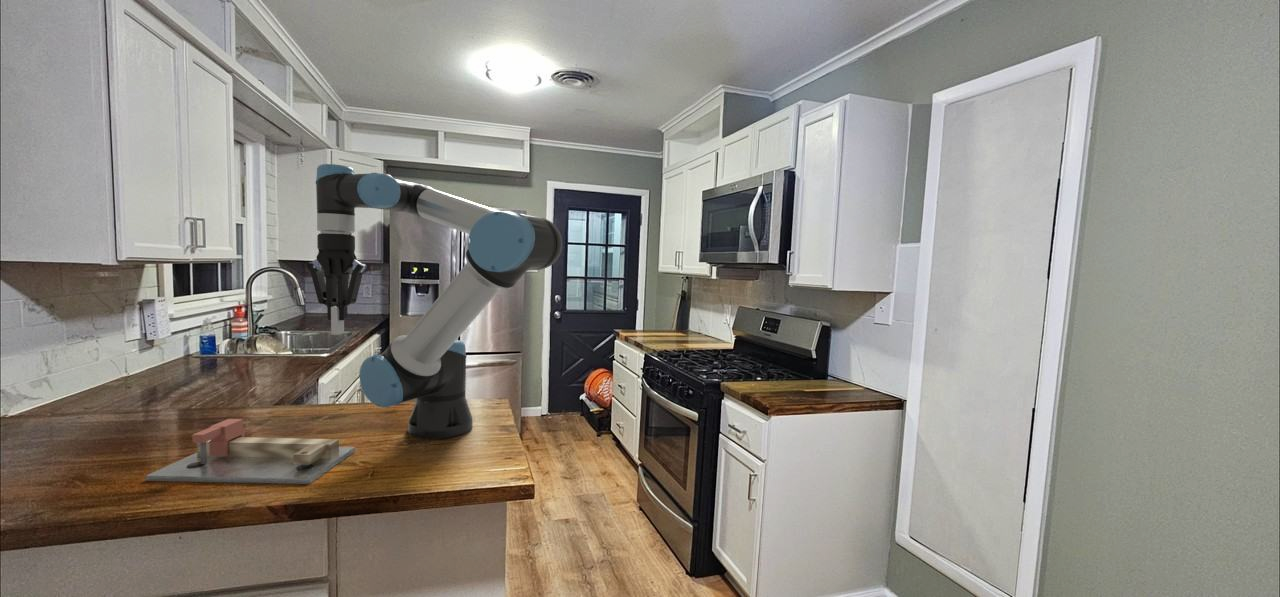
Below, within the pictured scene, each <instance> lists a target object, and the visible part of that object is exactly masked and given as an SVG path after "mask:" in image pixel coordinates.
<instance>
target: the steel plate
mask: <svg viewBox="0 0 1280 597" xmlns="http://www.w3.org/2000/svg"><path fill="white" fill-rule="evenodd" d="M355 452H356V447H355V446H339V453H338V454H337V455H336V456H334V457H333V458H331V459H324V458H319V459H317V460H316V461H314V462H313V463H311V464H310V465H308V467H307V468H301V465H297V464H294V458H277V457H230V456H207V463H206V464H201V456H197V452H194V453H193V454H190V455H188V456H186V457H184V458H182V459H179V460H178V461H174V462H173V463H171V464H169V465H166V466H164V467H162V468H160V469H157V470H156V471H153V472H151V473H148V474H147V475H145V480H146V481H147V482H148V481H149V482H155V481H156V482H186V483H188V482H193V483H195V482H196V483H236V484H238V483H239V484H240V483H241V484H243V483H244V484H247V483H248V484H289V485H290V484H292V485H293V484H294V485H298V484H299V485H301V484H302V485H310V484H312V483H313V482H315V481H316V480H317V479H319V478H320V477H322V476H323V475H325V473H327V472H329V471H330V470H331V469H333V468H334V467H336V466H337V465H338V464H340V463H341V462H342V461H344V460H345V459H347V458H348V457H349V456H350V455H352V454H354V453H355Z"/></svg>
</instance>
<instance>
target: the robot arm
mask: <svg viewBox="0 0 1280 597" xmlns="http://www.w3.org/2000/svg"><path fill="white" fill-rule="evenodd" d="M315 187H316V188H315V190H316V230H317V231H318V232H319V233H318V234H317V239H316V241H317V243H316V244H317V245H316V246H317V250H318V252H317V255H316V259H314V260H313V261H309V262H306V264H305V265H306V268H307V269H308V271H309V272H310V275H311V278H312V283H313V287H314V290H315V294H316V298H317V302H318V303H319V304H322V305H324V306H326V307H327V308H326V309H327V310H326V312H327V313H326V314H327V320H328V321H330V325H331V326H330V334H331V336H339V335H343V334H345V321H346V320H347V319H348V307H349V306H350V305H354V304H355V303H357V299H358V296H359V292H360V286H361V283H362V278H363V274H364V272H365V271H366V270H367V268H368V265H367V264H366V263H361V261H359V260H357V256H356V253H355V250H356V236H355V235H354V234H353V233H355V232H356V226H355V225H356V222H355V221H356V219H355V217H356V214H355V209H357V208H358V209H361V208H364V209H367V208H369V209H375V210H376V209H377V210H385V211H393V212H400V213H401V212H402V213H407V214H411V215H413V216H414V215H415V216H417V217H419V218H423V219H425V220H429V221H432V222H435V223H437V224H440V225H441V226H445V227H448V228H450V229H454V230H456V231H459V232H461V233H464V234H468V235H469V236H468V238H469V242H468V243H467V244H468V246H467V248H468V249H467V250H466V251H465V259H466V260H465V261H466V263H465V265H464V266H463V267H462V268H461V270H460V271H459V272H458V273H457V274H456V275H455V276H454V278H453V279H452V281H451V282H450V283H449V284H448V285H447V286H446V287H445V288H444V290H443V291H442V292H441V293H440V294H439V296H438V297H437V299H435V301H434V302H433V303H432V305H431V306H430V307H429V308H428V309H427V310H426V312H425V313H424V314H423V315H422V317H421V318H420V319H419V320H418V321H417V322H416V324H415V325H414V326H413V328H412V329H411V330H410V331H409V332H408V334H403V335H398V336H397V337H395V338H393V340H392V341H391V342H390V344H388V346H387V348H385V350H384V351H383V352H381V353H380V354H373V355H371V356H368V357H366V358H365V359H364V360H363V362H362V364H361V366H360V368H359V374H358V378H359V384H360V387H361V390H362V392H363V394H364V396H365V397H366V399H367V400H369V401H370V403H372V404H373V405H374V406H376V407H380V408H384V409H385V408H390V407H395V406H399V405H401V404H403V403H407V402H409V401H412V400H414V399H415V403H414V405H413V408H412V411H411V415H410V416H409V420H408V426H407V427H408V428H407V430H408V431H407V433H408V434H409V436H411V437H414V438H417V439H424V440H441V439H449V438H453V437H458V436H461V435H464V434H466V433H468V432H469V431H471V430H472V429H473V416H472V413H471V410H470V407H469V404H468V400H467V398H466V397H467V396H466V390H467V389H466V386H467V385H466V384H467V383H466V381H467V379H466V377H467V376H466V375H467V370H466V369H467V368H466V367H467V354H466V353H467V352H466V350H467V349H466V344H465V343H464V342H463V341H462V340H460V339H459V337H461V335H462V334H463V333H464V332H465V331H466V330H467V329H468V327H469V326H470V325H471V324H472V323H473V321H475V319H476V318H477V317H478V316H479V315H480V313H482V312H483V310H484V309H485V308H486V306H487V305H488V304H489V303H490V302H491V301H492V300H493V298H494V297H495V296H496V295H497V294H498V293H499V292H500V290H509V289H512V288H513V287H514V286H515V284H517V283H518V281H519V280H520V279H521V278H522V277H523V276H524V275H525V274H526V272H528V271H540V270H545V269H547V268H549V267H550V266H552V265H554V263H556V261H558V259H559V257H560V256H561V253H562V250H563V237H562V235H561V232H560V229H559V228H558V227H557V226H556V225H555V224H554V223H553V222H552V221H550V220H549V219H546V218H544V217H541V216H537V215H536V216H535V215H528V214H523V213H519V212H517V211H514V210H513V211H511V210H503V211H501V210H497V209H494V208H491V207H488V206H486V205H482V204H480V203H476V202H473V201H470V200H467V199H466V198H465V199H464V198H462V197H459V196H455V195H452V194H450V193H446V192H444V191H441V190H437V189H434V188H433V187H432V186H429V185H427V184H423V183H419V182H412V181H405V180H402V179H397V178H394V177H393V176H392V175H391V174H388V173H378V172H370V173H355V171H354V169H353V167H352V166H351V167H350V166H348V165H343V164H342V165H341V164H335V163H334V164H333V163H332V164H331V163H330V164H329V163H322V164H320V165H318V166H317V167H316V180H315ZM322 269H323V270H322ZM351 269H352V272H351V277H350V270H351ZM323 271H324V274H323ZM324 277H325V278H324ZM349 277H350V279H349ZM349 280H350V281H349ZM458 339H459V340H458Z"/></svg>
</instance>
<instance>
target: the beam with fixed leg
mask: <svg viewBox="0 0 1280 597" xmlns="http://www.w3.org/2000/svg"><path fill="white" fill-rule="evenodd" d="M209 441H211V440H209ZM209 441H207V442H206V451H207V456H210V446H209ZM339 447H340V439H338V438H335V439H333V438H295V437H294V438H293V437H292V438H290V437H288V438H287V437H257V436H256V437H254V436H253V437H252V436H251V437H250V436H246V437H236V438H233V439H231V440H229V441H228V455H226V456H230V457H277V458H294V464H297V465H301V468H307V467H308V465H310V464H311V463H313V462H314V461H316V460H317V459H319V458H324V459H331V458H333V457H334V456H336V455H337V454H338V453H339ZM196 451H197V452H196V453H197V456H201V454H200V443H196Z"/></svg>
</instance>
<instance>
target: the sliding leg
mask: <svg viewBox="0 0 1280 597" xmlns="http://www.w3.org/2000/svg"><path fill="white" fill-rule="evenodd" d="M245 434H246V433H245V432H244V419H243V418H240V419H239V418H227V419H225V420H223V421H220V422H217V423H215V424H211V425H210V426H209V427H208V428H206V429H203V430H201V431H198V432H195V433H193V434H192V443H194V444H197V443H200V454H201V464H206V463H207V451H206V442H207V441H209V440H211V441H209V446H210V456H226V455H228V441H229V440H231V439H233V438H236V437H245Z"/></svg>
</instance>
